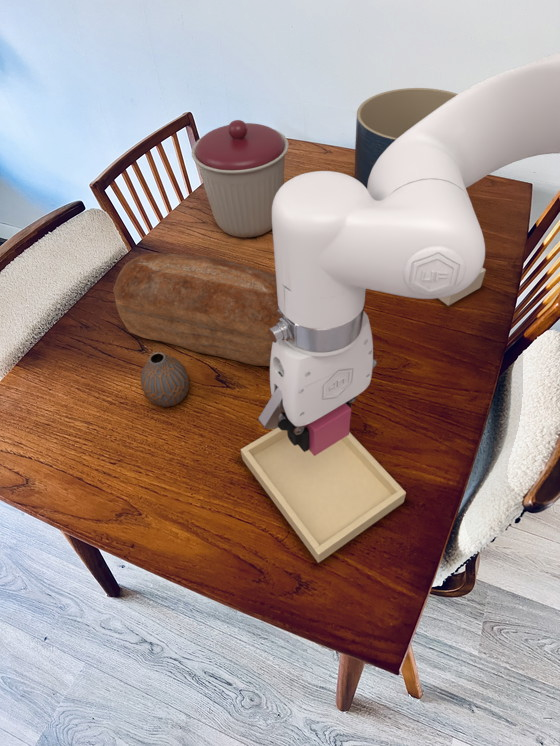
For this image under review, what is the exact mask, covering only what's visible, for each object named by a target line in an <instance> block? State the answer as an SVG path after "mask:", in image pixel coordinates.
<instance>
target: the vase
mask: <svg viewBox="0 0 560 746" xmlns="http://www.w3.org/2000/svg"><path fill="white" fill-rule="evenodd" d="M147 359H148V360H147V362H146V363H145V364H144V365H143V367H142V369H141V373H140V384H141V389H142V391H143V393H144V395H145V396H146V398H147V399H148V400H149V401H150V402H151V403H153V404H154V405H156V406H159V407H163V408H164V407H165V408H169V407H173V406H176V405H178V404H180V403H181V402H182V401H183V400H184V399H185V398H186V396H187V394H188V392H189V389H190V379H189V378H190V377H189V374H188V371H187V369H186V367H185V366H184V365H183V364H182V362H181V361H180V360H179V359H178V358H175V357H173V356H171V355H167V354H165V353H164V352H162V351H155V352H153V353H151V354H150V355H149V356H148V358H147Z"/></svg>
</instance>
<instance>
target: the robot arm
mask: <svg viewBox="0 0 560 746" xmlns="http://www.w3.org/2000/svg"><path fill="white" fill-rule="evenodd" d="M457 94H458V95H456V96H455V97H453V98H452V99H450V100H449V101H447V102H446V103H444V104H443V105H442V106H440V107H439V108H437V109H436V110H435V111H433V112H432V113H430V114H429V115H428V116H426V117H425V118H424V119H422V120H421V121H419V122H418V123H417V124H415V125H414V126H413V127H411V128H410V129H409V130H407V131H406V132H405V133H404V134H402V135H401V136H400V137H399V138H397V139H396V140H395V141H394V142H393V143H392V144H391V145H390V146H389V147H388V148H387V149H386V150H385V151H384V152H383V153H382V155H381V156H380V157H379V158H378V160H377V161H376V163H375V165H374V166H373V168H372V171H371V173H370V176H369V179H368V185H367V189H366V187H365V186H364V185H363V184H362V183H361V182H359V181H358V180H356V179H355V178H354V177H353V176H351V175H349V174H346V173H342V172H338V171H332V170H318V171H317V170H316V171H309V172H305V173H301V174H298V175H296V176H294V177H292V178H291V179H289V180H288V181H285V182H284V183H283V185H282V186H281V188H280V189H279V190H278V192H277V193H276V195H275V198H274V200H273V204H272V229H271V230H272V244H273V254H274V255H273V257H274V268H275V275H276V282H277V297H278V310H277V317H278V321H277V323H276V324H275V325H274V327H272V328H270V329H268V333H269V336H270V338H271V340H272V341H273V344H272V350H271V360H270V366H269V387H270V395H271V397H270V398H269V400H268V402H267V404H266V405H265V407H264V409H263V410H262V411H261V413H260V414H259V416H258V419H257V421H258V422H259V424H260V425H261V426H262V427H263V429H264V430H274V429H276V428H280V430H286V431H287V435H288V438H289V440H290V441H291V443H292V444H293V445H294V446H296V445H297V444H298V445H299V447H300V448H301V449H302V450H303V451H304V452H306V451H307V450H309V430H308V429H307V427H306V425H307V424H310V423H311V422H313V421H315V420H317V419H319V418H320V417H322V416H324V415H326V414H327V413H329V412H331V411H332V410H334V409H336V408H337V407H339V406H341V405H342V404H344V403H346V404H347V405H348V406H349V407H350V408H351V409H352V403H354V402H355V401H356V400H357V398H358V396H359V395H360V394H362V393H363V392H364V391H365V390H366V389H368V387H369V386H370V384H371V380H372V375H373V369H374V368H375V367H376V366H377V364H378V360H376V359H375V358H374V342H373V334H372V333H373V332H372V328H371V324H370V318H369V316H368V314H367V313H366V312H365V301H366V291H367V290H371V291H375V292H381V293H386V294H390V295H393V296H394V295H395V296H399V297H405V298H410V299H420V300H421V299H422V300H434V299H438V298H442V297H447V296H451V295H454V294H456V293H458V292H460V291H462V290H464V289H465V288H467V287H468V286H469V285H470V284H471V283H472V282H473V281H474V280H475V279H476V278H477V276H478V275H479V273H480V271H481V269H482V267H483V266H484V264H485V259H486V242H485V238H484V235H483V231H482V228H481V225H480V223H479V220H478V217H477V215H476V212H475V210H474V207H473V204H472V201H471V198H470V196H469V193H468V191H467V189H468V188H469V187H471V186H473V185H475V183H477V182H479V181H480V180H483V178H485V177H487V176H489V175H490V174H492V173H494V172H496V171H497V170H500V169H502V168H504V167H506V166H508V165H510V164H514V163H516V162H518V161H522V160H525V159H527V158H532V157H537V156H542V155H551V154H552V155H553V154H560V51H559V52H555V53H552V54H550V55H547V56H545V57H541V58H539V59H537V60H534V61H531V62H529V63H526V64H523V65H521V66H518V67H515V68H512V69H508V70H506V71H503V72H501V73H498V74H495V75H493V76H490V77H488V78H486V79H484V80H482V81H480V82H478V83H476V84H473V85H471V86H470V87H468V88H466V89H465V90H463V91H461V92H460V93H457ZM483 268H484V267H483Z"/></svg>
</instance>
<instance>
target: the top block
mask: <svg viewBox="0 0 560 746" xmlns="http://www.w3.org/2000/svg"><path fill="white" fill-rule="evenodd" d="M351 416H352V407H351V408H350V407H349V406H348V405H347V404H346V403H344V404H342V405H341V406H339V407H337V408H336V409H334V410H332V411H331V412H329V413H327V414H326V415H324V416H322V417H320V418H319V419H317V420H315V421H313V422H311V423H310V424H307V425H306V427H307V429H308V430H309V450H310V452H311V453H312V454H313V455H314V456H315V455H317V454H319V453H320V452H322V451H323V450H325V449H327V448H328V447H330V446H331V445H333V444H335V443H336V442H338V441H339V440H341V439H343V438H344V437H346V436H347V435H349V432H350V429H351V427H350V426H351Z"/></svg>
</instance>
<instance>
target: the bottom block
mask: <svg viewBox="0 0 560 746" xmlns="http://www.w3.org/2000/svg"><path fill="white" fill-rule="evenodd" d="M486 271H487V269H486V268H484V267H482V269H481V271H480V273H479V275H478V276H477V278H476V279H475V280H474V281H473V282H472V283H471V284H470V285H469V286H468V287H467V288H465V289H464V290H462V291H460V292H458V293H456V294H454V295H451V296H447V297H442V298H437V299H438V300H439V301H441V302H442V303H443V304H445V305H446V306H448V307H449V306H451V305H453V304H454V303H456V302H458V301H459V300H462V299H464V298H465V297H467V296H468V295H470V294H472V293H474V292H475V291H476V290H479V289H481V288H482V284H483V281H484V278H485V275H486Z"/></svg>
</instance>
